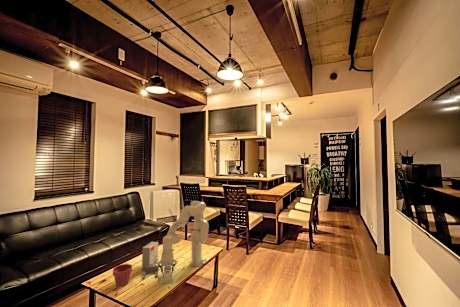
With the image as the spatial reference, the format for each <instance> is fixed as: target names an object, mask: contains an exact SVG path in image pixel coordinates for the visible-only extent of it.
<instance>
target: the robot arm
mask: <svg viewBox="0 0 460 307" xmlns="http://www.w3.org/2000/svg"><path fill="white" fill-rule="evenodd" d="M206 207H207V204H206V203H205V202H203V201H198V200H192V201H190V205H185V206H184V207H183V208H182V211H181V213H180V215H179V217H178V219H177V221H175V222H174V223H173V224H172V225H170V228H169V229H168V231H167V234H166V235H165V236H163V238H162V252H161V257H160V261H158V263H157V264H156V266H159V268H160V273H161V275H162V274H163V272H164V266H168V265H171V271H172V273H173V274H174V269H175V267H176V265H177V264H178V260H176V259H175V258H174V250H175V249H173V245H176V244H179V243H180V242H181V241H182V235H181V234H178V233H177V232H176V231H177V230H178V229H179V228H180V227H184V226H186V225H187V223H188V221H189V219H190V217H194V218H193V228H194V230H192V231H191V232H190V241H191V242H190V244H191V261H189V265H190V266H191V267H200V266H202V265H203V264H204V262H207V258H205V257H204V258H202V244H204V243H206V242H207V240H208V237H209V228H210V226H209V222H208V221H207V220H205V219H204V211H205V210H206V209H207V208H206Z"/></svg>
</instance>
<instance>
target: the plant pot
mask: <svg viewBox="0 0 460 307" xmlns="http://www.w3.org/2000/svg"><path fill="white" fill-rule="evenodd" d="M132 272H133V265H132V264H130V263H124V264H123V263H122V264H119V265H116V266H115V267H113V269H112V276H113V277H114V280H115V286H116V287H118V288H121V287H125V286H127V285H128V284H129V282H130V278H131V273H132Z"/></svg>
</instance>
